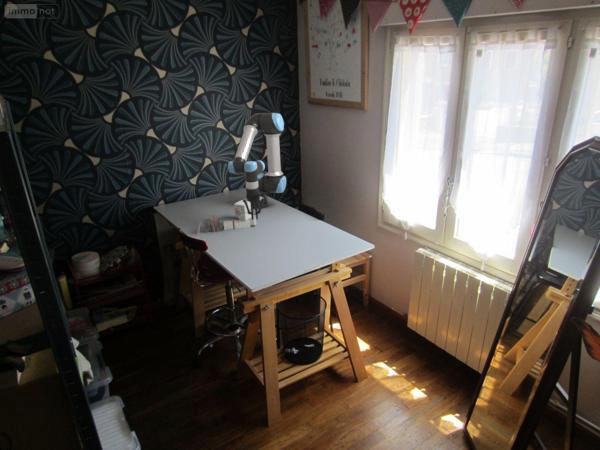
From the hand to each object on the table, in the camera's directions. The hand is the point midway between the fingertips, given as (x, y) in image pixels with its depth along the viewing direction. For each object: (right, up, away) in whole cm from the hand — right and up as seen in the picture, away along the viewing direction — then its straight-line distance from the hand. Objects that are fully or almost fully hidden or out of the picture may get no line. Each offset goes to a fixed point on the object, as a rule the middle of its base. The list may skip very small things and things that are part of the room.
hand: (255, 224), depth 258 cm
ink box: (-9, +3, +16) cm, 18 cm away
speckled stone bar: (-11, -2, -1) cm, 11 cm away
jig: (-17, -4, -1) cm, 18 cm away
